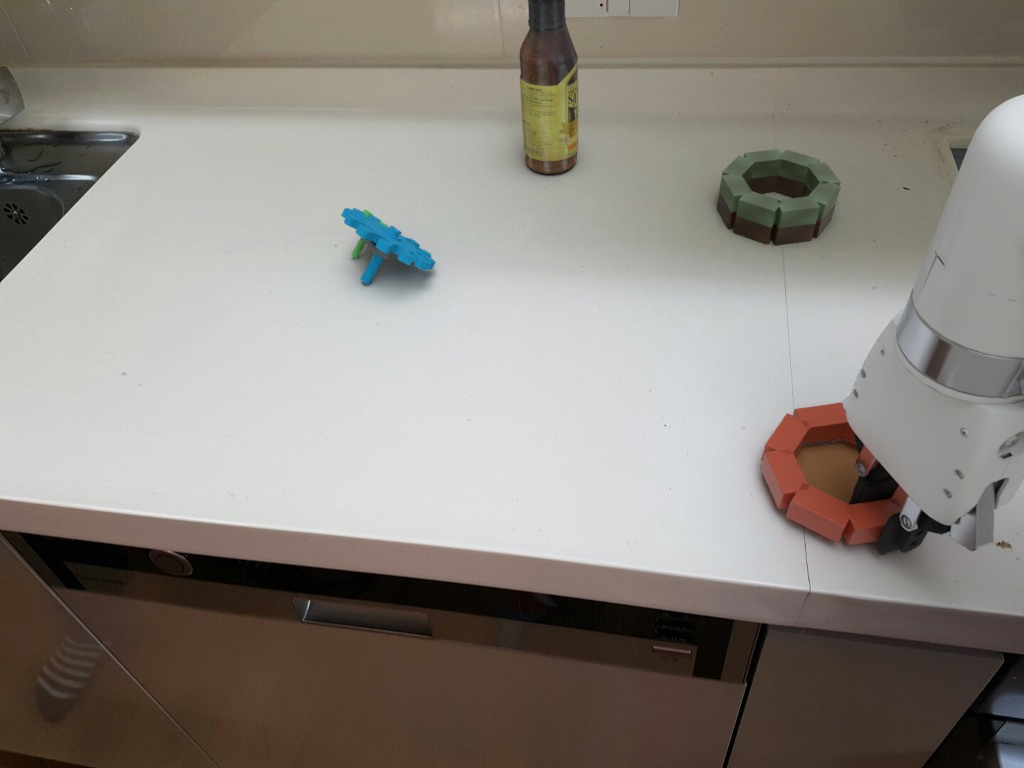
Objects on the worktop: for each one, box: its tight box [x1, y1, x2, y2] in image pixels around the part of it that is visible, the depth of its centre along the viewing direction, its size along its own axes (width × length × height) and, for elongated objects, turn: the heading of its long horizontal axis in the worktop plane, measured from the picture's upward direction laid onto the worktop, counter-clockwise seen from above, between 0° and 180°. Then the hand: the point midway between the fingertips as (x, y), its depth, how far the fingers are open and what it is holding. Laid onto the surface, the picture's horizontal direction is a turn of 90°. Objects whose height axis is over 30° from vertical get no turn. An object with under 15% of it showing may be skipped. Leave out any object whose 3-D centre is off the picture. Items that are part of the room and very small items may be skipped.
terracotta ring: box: [760, 401, 908, 546], centre depth 57 cm, size 11×11×2 cm
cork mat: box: [796, 440, 860, 531], centre depth 58 cm, size 7×7×1 cm
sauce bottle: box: [519, 0, 579, 175], centre depth 84 cm, size 7×6×20 cm
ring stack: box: [716, 148, 842, 246], centre depth 81 cm, size 11×11×4 cm
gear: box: [340, 207, 437, 285], centre depth 77 cm, size 11×6×10 cm
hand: (881, 525), depth 55 cm, fingers closed on terracotta ring, 2 cm apart
